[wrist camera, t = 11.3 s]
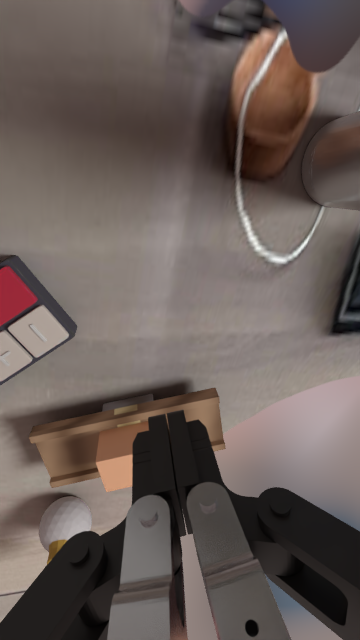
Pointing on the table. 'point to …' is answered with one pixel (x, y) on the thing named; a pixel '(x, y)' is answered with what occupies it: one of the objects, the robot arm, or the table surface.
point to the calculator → (27, 319)
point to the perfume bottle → (63, 523)
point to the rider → (117, 455)
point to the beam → (83, 432)
